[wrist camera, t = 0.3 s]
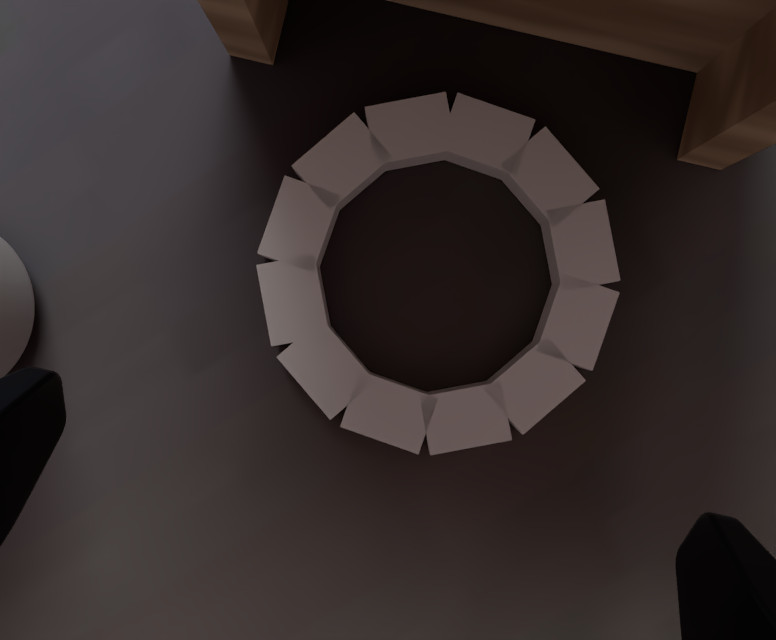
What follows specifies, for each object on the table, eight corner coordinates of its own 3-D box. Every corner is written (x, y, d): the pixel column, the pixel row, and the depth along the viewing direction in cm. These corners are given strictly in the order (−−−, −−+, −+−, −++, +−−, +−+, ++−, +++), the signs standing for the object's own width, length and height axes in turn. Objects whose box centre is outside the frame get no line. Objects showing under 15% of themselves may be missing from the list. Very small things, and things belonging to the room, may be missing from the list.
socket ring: (633, 410, 24) (646, 414, 22) (300, 472, 24) (296, 480, 22) (569, 79, 24) (579, 66, 23) (239, 142, 24) (231, 132, 23)
